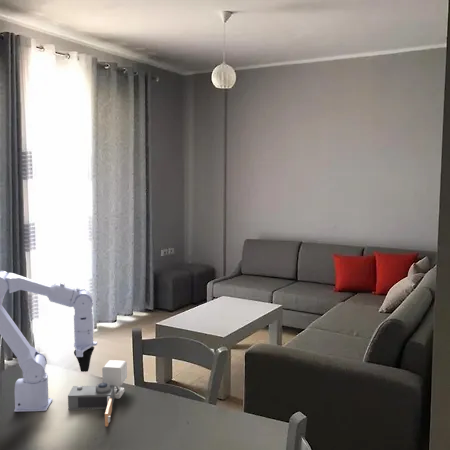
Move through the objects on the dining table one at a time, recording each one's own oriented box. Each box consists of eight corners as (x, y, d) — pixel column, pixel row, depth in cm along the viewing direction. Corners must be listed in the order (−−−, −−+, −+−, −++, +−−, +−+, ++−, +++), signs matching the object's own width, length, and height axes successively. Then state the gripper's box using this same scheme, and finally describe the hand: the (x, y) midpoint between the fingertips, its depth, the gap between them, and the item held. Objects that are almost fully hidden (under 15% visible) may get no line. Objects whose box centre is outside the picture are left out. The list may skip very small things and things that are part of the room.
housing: (68, 409, 160) (67, 390, 159) (73, 399, 167) (73, 380, 166) (111, 409, 161) (110, 389, 160) (114, 398, 168) (114, 379, 167)
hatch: (107, 408, 160) (107, 396, 160) (114, 408, 161) (114, 396, 160) (102, 426, 150) (102, 413, 149) (110, 426, 150) (109, 412, 149)
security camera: (127, 389, 175) (126, 360, 174) (121, 398, 168) (120, 368, 167) (108, 388, 175) (108, 359, 174) (101, 397, 169) (101, 367, 167)
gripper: (92, 336, 157) (93, 379, 158) (100, 322, 171) (101, 362, 173) (68, 337, 156) (69, 380, 158) (78, 322, 171) (79, 362, 172)
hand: (84, 370), depth 165 cm, fingers closed
